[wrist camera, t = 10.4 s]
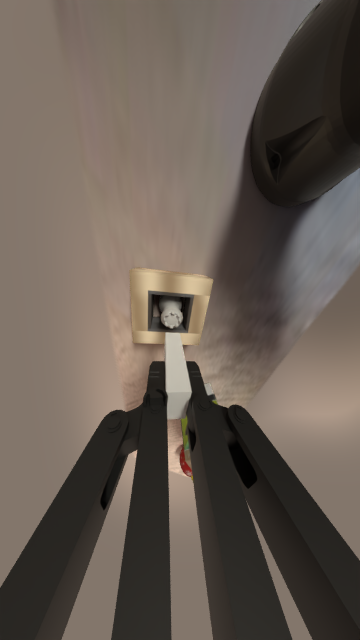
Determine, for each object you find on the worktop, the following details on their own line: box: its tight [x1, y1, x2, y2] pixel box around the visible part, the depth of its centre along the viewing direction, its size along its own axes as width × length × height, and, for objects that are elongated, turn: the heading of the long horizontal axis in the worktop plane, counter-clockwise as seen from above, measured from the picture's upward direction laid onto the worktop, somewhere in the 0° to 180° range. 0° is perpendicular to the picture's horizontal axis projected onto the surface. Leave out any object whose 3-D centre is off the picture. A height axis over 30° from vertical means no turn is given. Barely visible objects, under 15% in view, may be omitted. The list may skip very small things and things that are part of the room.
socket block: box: [129, 268, 213, 345], centre depth 23 cm, size 12×12×5 cm
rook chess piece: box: [159, 295, 183, 329], centre depth 22 cm, size 4×4×8 cm
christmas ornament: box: [180, 447, 193, 480], centre depth 48 cm, size 9×9×10 cm
